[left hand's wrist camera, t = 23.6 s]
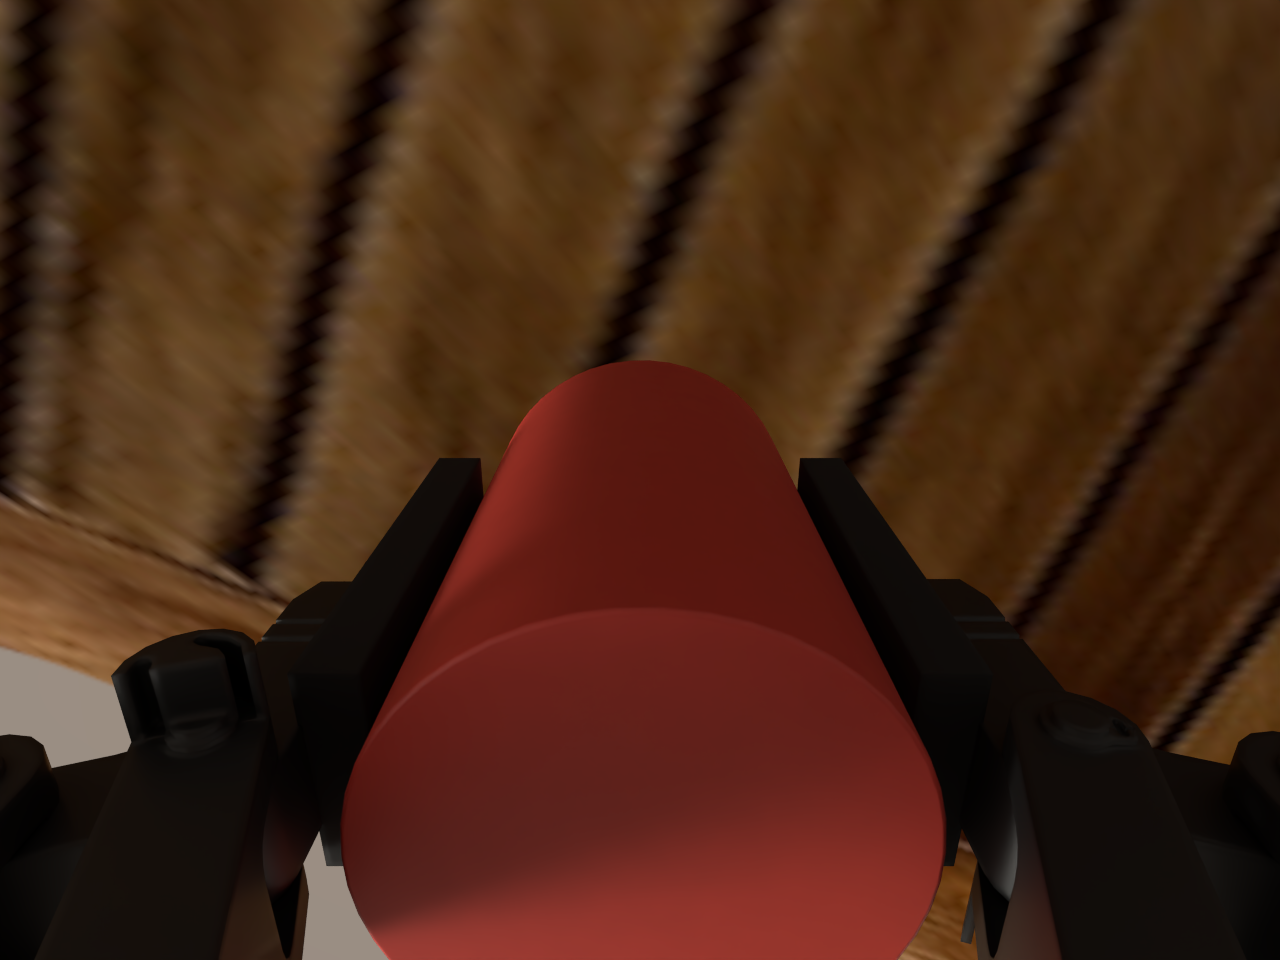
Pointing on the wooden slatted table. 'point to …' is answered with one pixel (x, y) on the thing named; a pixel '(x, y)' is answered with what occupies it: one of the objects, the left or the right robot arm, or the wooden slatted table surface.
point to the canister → (643, 712)
